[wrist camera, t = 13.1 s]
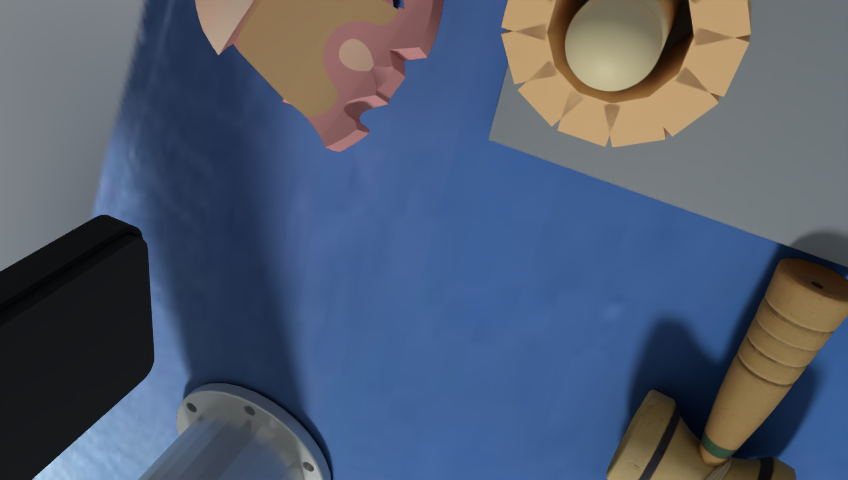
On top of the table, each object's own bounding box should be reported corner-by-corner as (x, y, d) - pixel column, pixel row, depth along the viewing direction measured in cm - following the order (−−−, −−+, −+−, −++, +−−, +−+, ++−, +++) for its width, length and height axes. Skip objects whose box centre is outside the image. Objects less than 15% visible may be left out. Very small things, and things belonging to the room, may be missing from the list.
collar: (698, 119, 24) (687, 174, 21) (523, 62, 26) (482, 104, 22) (789, -81, 21) (797, -60, 17) (577, -134, 22) (538, -125, 18)
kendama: (698, 210, 29) (564, 496, 37) (729, 280, 23) (564, 599, 31) (879, 261, 28) (702, 540, 36) (957, 346, 23) (727, 653, 31)
